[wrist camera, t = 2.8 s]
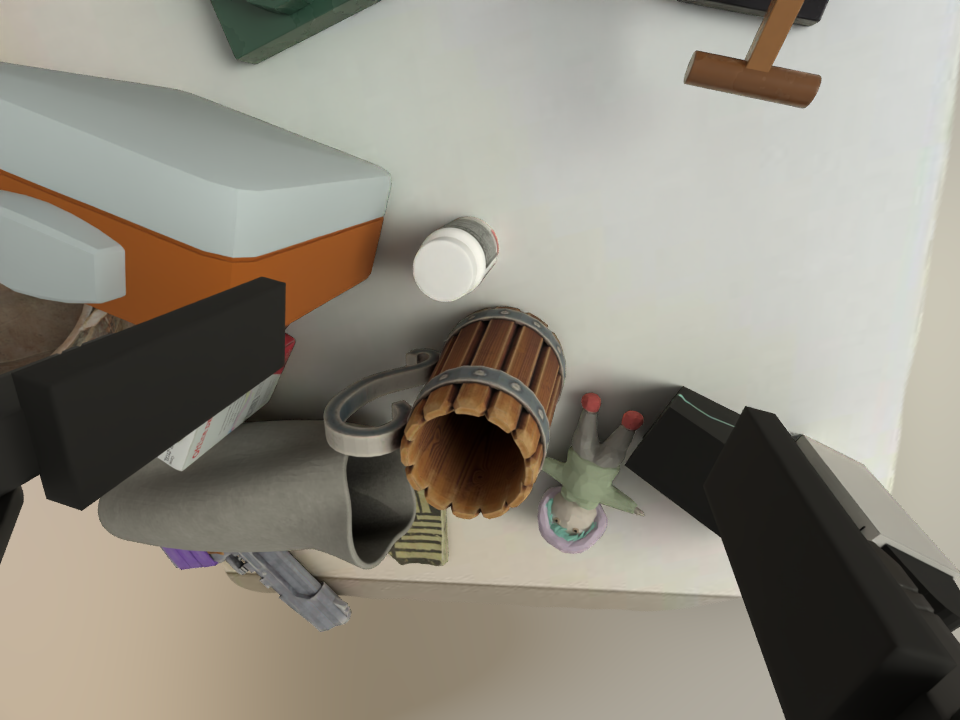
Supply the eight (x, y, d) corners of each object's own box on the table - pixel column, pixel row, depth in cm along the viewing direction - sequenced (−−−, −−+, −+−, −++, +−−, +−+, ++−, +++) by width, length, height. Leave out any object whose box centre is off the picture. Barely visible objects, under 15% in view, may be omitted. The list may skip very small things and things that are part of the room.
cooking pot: (-109, 311, 44) (-257, 220, 34) (116, 247, 52) (53, 158, 42) (-43, 545, 38) (-201, 524, 27) (203, 432, 46) (156, 381, 35)
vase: (69, 427, 44) (338, 423, 34) (189, 419, 55) (416, 415, 45) (65, 562, 43) (340, 598, 33) (188, 525, 54) (419, 544, 44)
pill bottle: (449, 207, 36) (414, 222, 29) (507, 226, 36) (487, 246, 28) (435, 265, 38) (399, 293, 31) (490, 284, 38) (467, 316, 30)
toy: (679, 440, 34) (611, 595, 39) (686, 419, 39) (624, 560, 43) (545, 383, 38) (498, 529, 43) (565, 371, 43) (521, 504, 48)
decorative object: (664, 364, 38) (710, 483, 24) (864, 465, 38) (1020, 638, 24) (611, 438, 41) (624, 576, 28) (793, 529, 41) (894, 711, 28)
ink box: (254, 310, 43) (147, 361, 33) (299, 340, 43) (208, 400, 33) (227, 376, 47) (124, 441, 36) (269, 403, 47) (179, 475, 37)
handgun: (272, 662, 60) (350, 628, 54) (141, 541, 55) (211, 489, 50) (287, 638, 63) (363, 602, 57) (164, 521, 58) (233, 470, 53)
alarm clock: (179, 199, 40) (-164, 239, 22) (182, 87, 36) (-232, 21, 18) (375, 278, 39) (194, 388, 21) (400, 172, 35) (204, 194, 17)
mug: (574, 309, 37) (568, 399, 24) (559, 422, 42) (547, 551, 28) (389, 291, 40) (290, 362, 26) (393, 399, 44) (311, 506, 31)
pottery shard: (354, 520, 52) (346, 534, 50) (422, 425, 44) (415, 436, 43) (434, 571, 53) (429, 586, 51) (515, 485, 45) (512, 499, 43)
